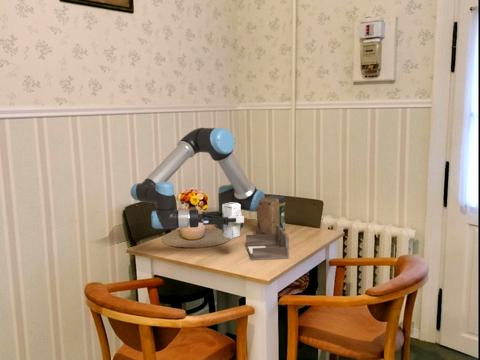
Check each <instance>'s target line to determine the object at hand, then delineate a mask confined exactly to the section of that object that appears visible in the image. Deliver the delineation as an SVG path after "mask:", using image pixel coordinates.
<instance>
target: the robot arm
mask: <svg viewBox="0 0 480 360" xmlns="http://www.w3.org/2000/svg"><path fill="white" fill-rule="evenodd" d="M234 141H235V137H234V135H233V133H232V132H231V131H230V130H228V129H227V128H222V127H216V128H215V127H198V128H195V129H194V130H192V131H190V132H188V133H186V135H184V136H183V137H182V138H181V139H180V140H179V141H178V142H177V144H176V145H177V146H176V147H175V148H174V149H173V150H172V151H171V153H169V154H168V155H167V156H166V158H165V159H164V160H163V161H161V163H160V164H159V165H157V167H156V168H155V169H154V170H153V171H151V173H150V174H149V175H148V176H147V177H146V178H145V179H144V180H143V181H142V182H141V183H140V182H139V183H134V184H133V185H132V186H131V188H130V195H131V196H130V197H131V198H132V199H134V200H135V201H138V202H144V203H151V204H155V210H152V212H151V214H150V215H151V226H152V228H153V229H158V230H159V229H162V230H164V229H181V230H184V228H185V229H186V228H192V229H193V228H199V223H200V224H202V225H203V226H208V225H214V226H215V228H218V229H219V230H222V225H228V223H240V229H242V228H243V227H244V223H245V215H242V210H243V211H247V212H256V213H257V206H258V202H259V200H260V199H262V198H264V197H266V196H265V193H264V191H263V190H262V189H257V187H256V186H255V184H254V183H253V182H252V181H249V179H248V177H247V175H246V173H245V171H244V170H243V169H242V167H241V164H240V162H239V161H238V159H237V158H236V156H235V153H234V149H235V144H236V143H235V142H234ZM198 153H206V154H207V153H208V154H209V156H210V158H211V159H212V161H215V162H217V163H218V164H219V166H220V168H221V170H222V171H223V173H224V174H225V176H226V178H227V180H228V182H229V183H230V184H224V185H221V186H219V187H218V193H217V195H218V197H217V198H218V210H217V211H202V212H201V213H199V210H198V209H190V210H188V209H178V210H177V209H175V189H174V183H173V182H171V181H169V180H171V177H173V175H174V174H175V173H176V172H177V171H178V170H179V169H180V168H181V167H182V166H183V165H184V164H185V163H186V161H188V159H189V158H190V159H191V158H193V157H194V156H195V155H196V154H198ZM230 202H235V203H239V204H241V216H228V217H222V204H226V203H230Z"/></svg>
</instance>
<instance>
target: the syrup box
mask: <svg viewBox="0 0 480 360" xmlns="http://www.w3.org/2000/svg"><path fill="white" fill-rule="evenodd" d="M241 212H242V210H241V204H239V203H235V202H230V203H226V204H222V217H228V216H241ZM221 237H222V238H227V239H231V240H233V239H235V238H238V237H241V228H240V223H228V225H222V229H221Z"/></svg>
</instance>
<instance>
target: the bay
mask: <svg viewBox="0 0 480 360" xmlns="http://www.w3.org/2000/svg"><path fill="white" fill-rule="evenodd" d="M245 236H246V237H245V238H246V240H245V243H244V247H245V249H246V251H247V253H248V255H249V258H250V260H251V261H269V260H270V261H272V260H289V259H290V254H289V253H290V236H288V234H287V233H286V232H285V230H283V229H282V228H281V227H280V226H279V224H278V225H276V234H245Z"/></svg>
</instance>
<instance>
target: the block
mask: <svg viewBox="0 0 480 360" xmlns="http://www.w3.org/2000/svg"><path fill="white" fill-rule="evenodd" d="M256 220H257V224H256V227H257V228H256V233H257V234H276V225H278V224H279V226H280V209H279V200H278V199H277V198H272V197H268V196H265V197H264V198H262V199H260V200H259V202H258V206H257V212H256ZM257 234H256V235H257Z"/></svg>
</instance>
